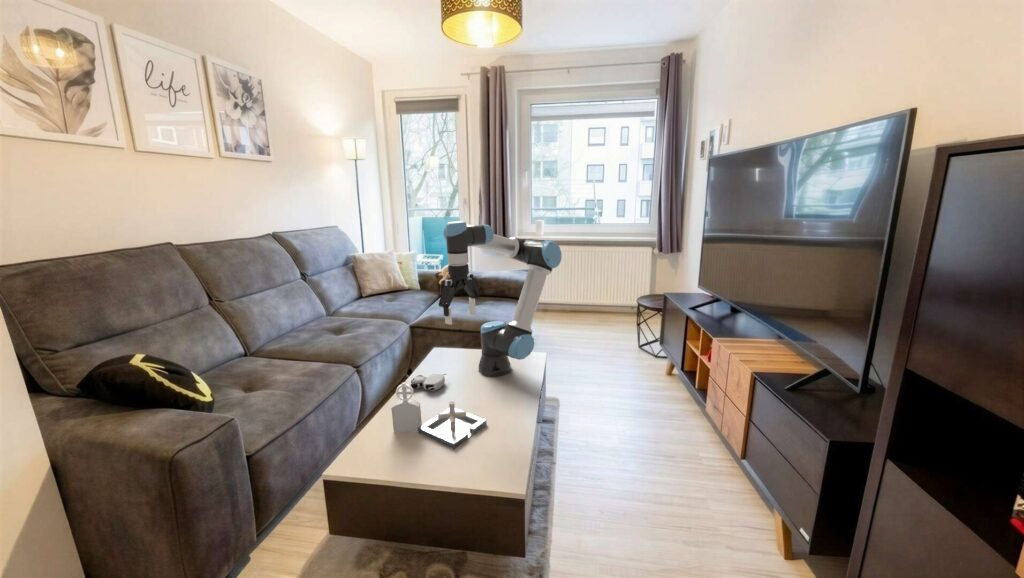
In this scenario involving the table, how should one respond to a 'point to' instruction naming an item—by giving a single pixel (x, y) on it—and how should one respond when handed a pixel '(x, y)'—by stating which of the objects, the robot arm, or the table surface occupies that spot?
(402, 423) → the gravestone
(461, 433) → the square metal tray
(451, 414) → the pipe connector
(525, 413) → the table surface
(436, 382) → the robot toy
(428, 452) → the table surface
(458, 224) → the robot arm
